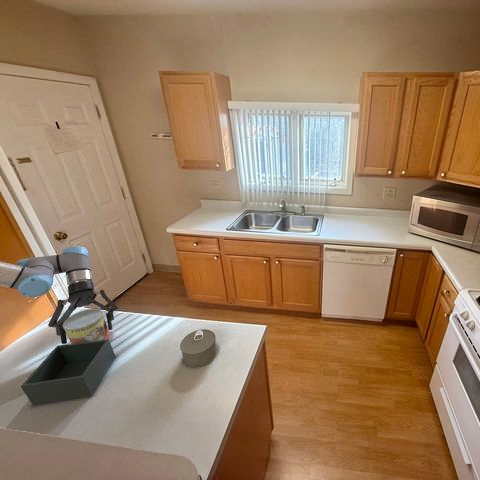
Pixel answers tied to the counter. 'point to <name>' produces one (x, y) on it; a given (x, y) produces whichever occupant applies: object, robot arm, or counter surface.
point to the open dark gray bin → (69, 372)
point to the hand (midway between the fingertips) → (88, 336)
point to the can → (199, 348)
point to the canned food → (86, 327)
